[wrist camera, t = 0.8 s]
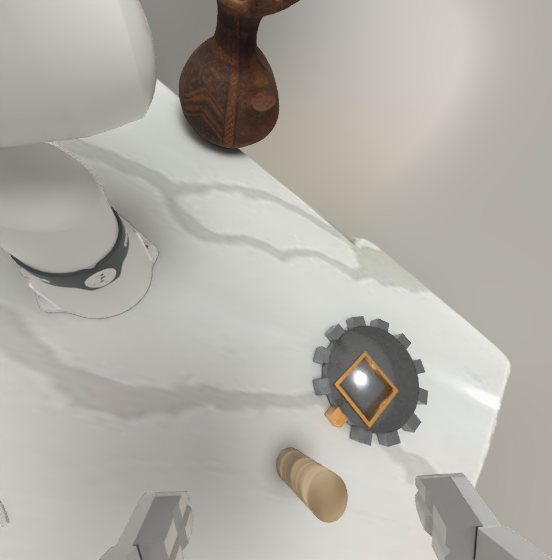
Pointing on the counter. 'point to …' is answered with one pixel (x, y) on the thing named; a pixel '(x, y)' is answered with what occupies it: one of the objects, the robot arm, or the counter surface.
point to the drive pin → (313, 484)
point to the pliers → (3, 515)
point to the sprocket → (370, 381)
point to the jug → (232, 78)
